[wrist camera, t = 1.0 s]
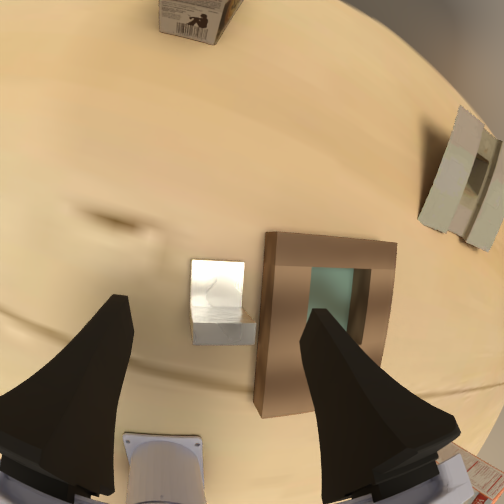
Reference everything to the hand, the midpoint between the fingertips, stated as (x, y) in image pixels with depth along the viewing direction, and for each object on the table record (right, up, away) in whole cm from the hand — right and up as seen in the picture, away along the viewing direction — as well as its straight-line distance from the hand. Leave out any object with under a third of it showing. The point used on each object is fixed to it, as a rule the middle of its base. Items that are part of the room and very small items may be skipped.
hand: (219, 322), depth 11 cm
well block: (+8, -4, +15) cm, 17 cm away
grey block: (-2, 0, +12) cm, 12 cm away
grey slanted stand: (+29, +11, +20) cm, 37 cm away
